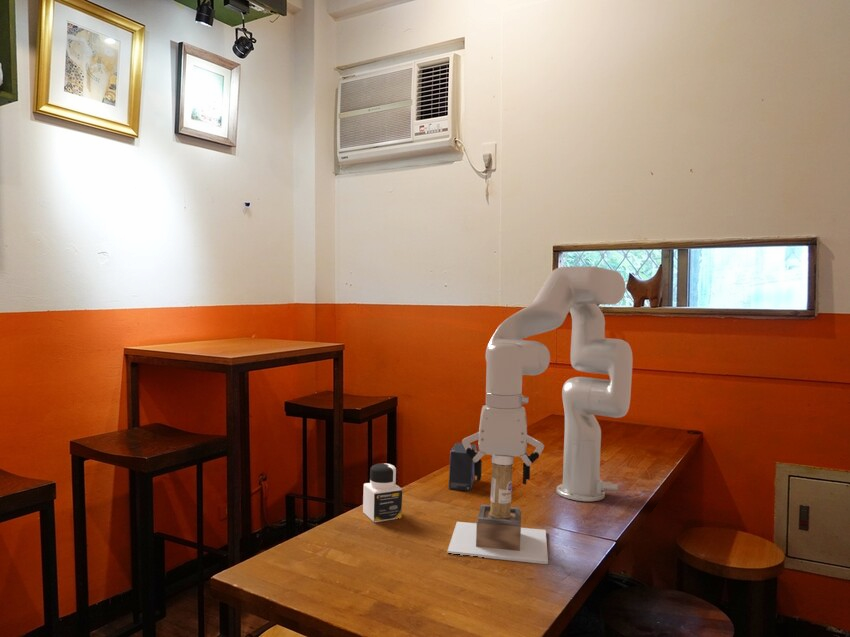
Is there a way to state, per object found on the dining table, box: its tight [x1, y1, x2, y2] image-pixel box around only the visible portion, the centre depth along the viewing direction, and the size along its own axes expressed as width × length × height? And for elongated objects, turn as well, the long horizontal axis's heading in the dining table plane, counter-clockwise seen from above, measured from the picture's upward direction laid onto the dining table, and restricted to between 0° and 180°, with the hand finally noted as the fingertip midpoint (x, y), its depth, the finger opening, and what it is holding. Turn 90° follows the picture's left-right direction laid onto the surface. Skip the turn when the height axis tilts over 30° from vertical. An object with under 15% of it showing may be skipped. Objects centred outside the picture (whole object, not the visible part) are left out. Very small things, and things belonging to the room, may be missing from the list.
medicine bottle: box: [362, 462, 403, 523], centre depth 138 cm, size 7×7×12 cm
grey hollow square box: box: [476, 503, 522, 551], centre depth 124 cm, size 9×9×6 cm
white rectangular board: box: [446, 521, 549, 565], centre depth 124 cm, size 20×16×1 cm
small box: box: [447, 442, 477, 492], centre depth 162 cm, size 11×6×10 cm, turn 168°
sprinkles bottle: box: [490, 455, 514, 519], centre depth 124 cm, size 5×5×13 cm
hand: (501, 480), depth 124 cm, fingers open, 9 cm apart
